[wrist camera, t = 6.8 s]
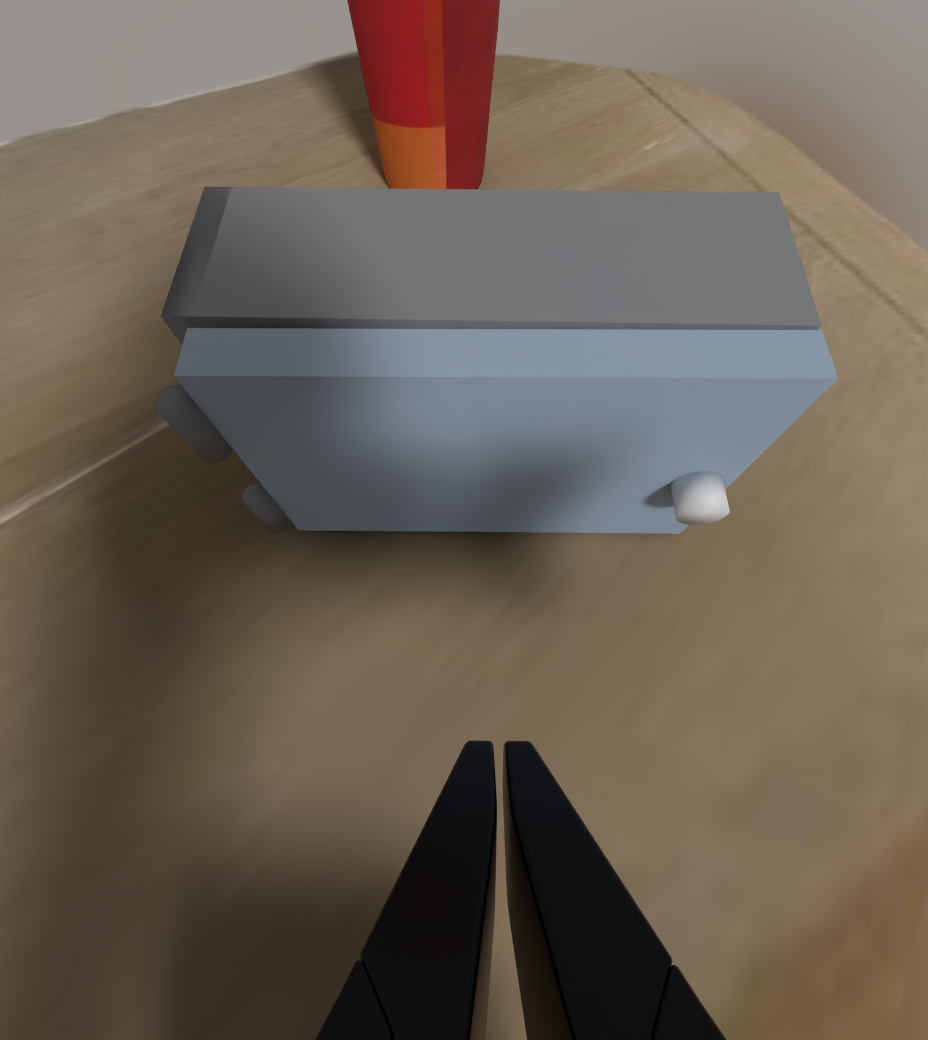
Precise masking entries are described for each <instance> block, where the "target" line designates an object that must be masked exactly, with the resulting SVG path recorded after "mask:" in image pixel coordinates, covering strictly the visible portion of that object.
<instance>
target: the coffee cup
mask: <svg viewBox="0 0 928 1040" xmlns="http://www.w3.org/2000/svg"><path fill="white" fill-rule="evenodd" d="M499 3H500V0H348V5H349V10H350V14H351V20H352V25H353V29H354V34H355V39H356V44H357V48H358V53H359V58H360V63H361V68H362V73H363V78H364V82H365V87H366V92H367V97H368V102H369V106H370V111H371V116H372V120H373V125H374V130H375V135H376V139H377V144H378V148H379V153H380V157H381V162H382V166H383V170H384V174H385V178H386V181H387V184H388V186H389V188H390V189H475V190H477V188H478V187H479V185H480V183H481V181H482V177H483V171H484V163H485V154H486V144H487V134H488V122H489V111H490V100H491V89H492V80H493V70H494V60H495V50H496V41H497V31H498V19H499Z"/></svg>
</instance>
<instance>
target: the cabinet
mask: <svg viewBox="0 0 928 1040" xmlns="http://www.w3.org/2000/svg"><path fill="white" fill-rule="evenodd" d="M161 317H162V318H163V319H164V321H165V322H166V324H167V325H168V326H169V328H170V329H171V330H172V332H173V333H174V335H175V336H176V337H177V339H178V340H179V342H180V343H181V344H182V345H183V341H184V338H185V334H186V331H187V328H310V329H639V330H818V329H819V328H820V327H821V322H820V319H819V316H818V313H817V310H816V307H815V304H814V300H813V297H812V294H811V291H810V288H809V285H808V282H807V278H806V275H805V272H804V269H803V266H802V263H801V260H800V257H799V253H798V250H797V247H796V244H795V241H794V238H793V235H792V232H791V228H790V225H789V222H788V219H787V216H786V213H785V210H784V206H783V203H782V200H781V197H780V194H779V192H678V191H576V190H475V189H373V188H271V187H204V190H203V193H202V196H201V199H200V202H199V205H198V208H197V211H196V214H195V217H194V220H193V223H192V226H191V229H190V232H189V235H188V238H187V240H186V243H185V246H184V249H183V252H182V255H181V258H180V261H179V264H178V267H177V270H176V273H175V276H174V279H173V282H172V285H171V288H170V291H169V294H168V297H167V300H166V303H165V306H164V308H163V311H162V314H161Z"/></svg>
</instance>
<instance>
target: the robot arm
mask: <svg viewBox="0 0 928 1040" xmlns="http://www.w3.org/2000/svg"><path fill="white" fill-rule="evenodd" d="M503 809H504V834H505V858H506V883H507V899H508V909H509V918H510V926H511V932H512V939H513V946H514V953H515V960H516V967H517V974H518V980H519V987H520V994H521V1001H522V1008H523V1015H524V1021H525V1028H526V1035H527V1040H726V1038H725V1037H724V1036H723V1034H722V1033H721V1031H720V1030H719V1028H718V1027H717V1025H716V1024H715V1022H714V1021H713V1019H712V1018H711V1016H710V1015H709V1014H708V1012H707V1011H706V1009H705V1008H704V1006H703V1005H702V1003H701V1002H700V1000H699V999H698V997H697V996H696V994H695V993H694V991H693V990H692V988H691V986H690V985H689V983H688V982H687V980H686V979H685V977H684V976H683V974H682V973H681V971H680V970H679V968H678V967H677V966H676V965H672V958H671V956H670V955H669V953H668V952H667V950H666V949H665V947H664V945H663V944H662V942H661V941H660V939H659V938H658V936H657V935H656V933H655V932H654V930H653V929H652V927H651V926H650V924H649V922H648V921H647V919H646V918H645V916H644V915H643V913H642V912H641V910H640V909H639V907H638V906H637V904H636V902H635V901H634V899H633V898H632V896H631V895H630V893H629V892H628V890H627V889H626V887H625V886H624V884H623V883H622V881H621V879H620V878H619V876H618V875H617V873H616V872H615V870H614V869H613V867H612V866H611V864H610V863H609V861H608V859H607V858H606V856H605V855H604V853H603V852H602V850H601V849H600V847H599V846H598V844H597V843H596V841H595V840H594V838H593V836H592V835H591V833H590V832H589V830H588V829H587V827H586V826H585V824H584V823H583V821H582V820H581V818H580V816H579V815H578V813H577V812H576V810H575V809H574V807H573V806H572V804H571V803H570V801H569V800H568V798H567V796H566V795H565V793H564V792H563V790H562V789H561V787H560V786H559V784H558V783H557V781H556V780H555V778H554V777H553V775H552V773H551V772H550V770H549V769H548V767H547V766H546V764H545V763H544V761H543V760H542V758H541V757H540V755H539V753H538V752H537V750H536V749H535V747H534V746H533V745H532V743H530V742H529V741H507V742H505V744H504V752H503ZM496 831H497V798H496V781H495V764H494V748H493V744H492V742H491V741H468V742H467V743H466V744H465V745H464V747H463V749H462V751H461V753H460V755H459V757H458V759H457V761H456V763H455V765H454V767H453V769H452V771H451V773H450V775H449V777H448V779H447V781H446V783H445V785H444V787H443V789H442V791H441V793H440V795H439V797H438V799H437V801H436V803H435V805H434V807H433V809H432V811H431V813H430V815H429V817H428V819H427V821H426V823H425V825H424V827H423V829H422V831H421V833H420V835H419V837H418V839H417V841H416V843H415V845H414V847H413V849H412V851H411V853H410V855H409V857H408V859H407V861H406V863H405V865H404V867H403V869H402V871H401V873H400V875H399V877H398V879H397V881H396V883H395V885H394V887H393V889H392V891H391V893H390V895H389V897H388V899H387V901H386V903H385V905H384V907H383V909H382V911H381V913H380V915H379V917H378V919H377V921H376V923H375V925H374V927H373V929H372V931H371V933H370V935H369V937H368V939H367V941H366V943H365V945H364V947H363V949H362V951H361V953H360V960H358V961H356V962H355V964H354V966H353V968H352V970H351V972H350V974H349V976H348V978H347V980H346V982H345V984H344V986H343V988H342V990H341V992H340V994H339V996H338V998H337V1000H336V1002H335V1003H334V1005H333V1007H332V1009H331V1011H330V1013H329V1015H328V1017H327V1018H326V1020H325V1022H324V1024H323V1026H322V1028H321V1030H320V1032H319V1033H318V1035H317V1037H316V1039H315V1040H485V1031H486V1018H487V1006H488V993H489V981H490V968H491V955H492V943H493V930H494V914H495V882H496ZM671 965H672V966H671Z"/></svg>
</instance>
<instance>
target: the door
mask: <svg viewBox="0 0 928 1040" xmlns="http://www.w3.org/2000/svg"><path fill="white" fill-rule="evenodd" d="M174 377H175V378H176V380H177V381H178V382H179V383H180V385H175V386H171V387H168V388H166V389H165V390H163V391H162V392H161V393H160V394H159V395H158V397H157V398H156V401H155V408H156V410H157V412H158V413H159V414H160V415H161V416H162V417H163V418H164V419H165V420H166V421H167V422H168V423H169V424H170V425H171V426H172V428H173V429H174V430H175V431H176V432H177V433H178V434H179V435H180V436H181V437H182V438H183V439H184V440H185V441H186V442H187V443H188V444H189V446H190V447H191V448H192V449H193V450H194V451H195V452H196V453H197V454H198V455H199V456H200V457H201V458H202V459H203V460H204V461H206V462H208V463H218V462H221V461H223V460H225V459H226V458H227V457H228V456H229V455H230V454H231V452H232V449H233V450H234V451H235V453H236V454H237V455H238V456H239V457H240V459H241V460H242V461H243V462H244V464H245V465H246V466H247V467H248V469H249V470H250V471H251V472H252V474H253V475H254V476H255V477H256V479H257V480H258V481H259V482H260V483H253V484H251V485H249V486H248V487H246V488H245V490H244V491H243V494H242V500H243V502H244V504H245V505H246V506H247V507H248V508H249V509H250V510H251V511H252V512H253V513H254V514H255V515H256V516H257V517H258V519H259V520H260V521H261V522H262V523H263V524H264V525H265V526H266V527H267V528H268V529H269V530H270V531H272V532H276V533H277V532H282V531H284V530H286V529H287V528H288V527H289V525H290V523H291V522H292V523H293V524H294V526H295V527H296V528H297V529H298V530H308V531H436V532H564V533H681V532H682V531H683V530H684V529H685V528H686V527H687V526H688V525H697V524H706V523H710V522H714V521H717V520H720V519H722V518H724V517H725V516H727V515H728V514H729V506H728V501H727V497H726V492H725V489H726V488H727V487H728V486H729V485H730V484H731V483H732V482H733V481H734V480H735V479H736V478H737V477H738V476H740V475H741V474H742V473H743V472H744V471H745V470H746V469H747V468H748V467H749V466H750V465H751V464H752V463H753V462H754V461H755V460H756V459H757V458H758V457H759V456H760V455H761V454H762V453H763V452H764V451H765V450H766V449H767V448H768V447H769V446H770V445H771V444H772V443H773V442H774V441H775V440H776V439H777V438H778V437H779V436H780V435H781V434H782V433H783V432H784V431H785V430H786V429H788V428H789V427H790V426H791V425H792V424H793V423H794V422H795V421H796V420H797V419H798V418H799V417H800V416H801V415H802V414H803V413H804V412H805V411H806V410H807V409H808V408H809V407H810V406H811V405H812V404H813V403H814V402H815V401H816V400H817V399H818V398H819V397H820V396H821V395H822V394H823V393H824V392H825V391H826V390H827V389H828V388H829V387H830V386H831V385H832V384H833V383H835V382H836V381H837V380H838V376H837V373H836V370H835V367H834V364H833V361H832V358H831V355H830V352H829V349H828V346H827V343H826V340H825V337H824V334H823V332H822V330H639V329H310V328H187V331H186V334H185V338H184V341H183V345H182V348H181V352H180V355H179V359H178V362H177V365H176V369H175V372H174Z"/></svg>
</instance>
